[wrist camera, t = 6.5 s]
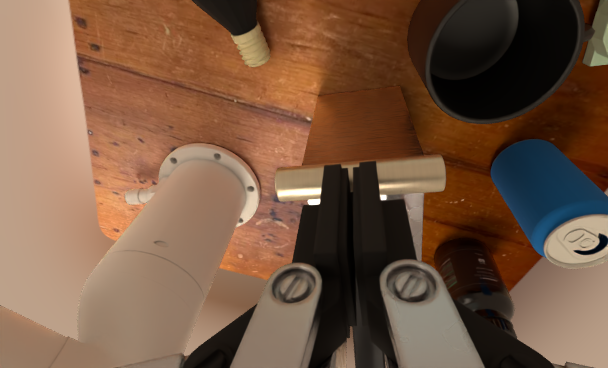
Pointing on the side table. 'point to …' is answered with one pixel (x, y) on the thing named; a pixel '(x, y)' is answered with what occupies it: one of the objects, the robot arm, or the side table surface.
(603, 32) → the button block
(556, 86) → the mug
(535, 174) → the beverage can
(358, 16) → the side table surface
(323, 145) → the bracket
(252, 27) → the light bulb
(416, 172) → the lever
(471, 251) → the supplement bottle
